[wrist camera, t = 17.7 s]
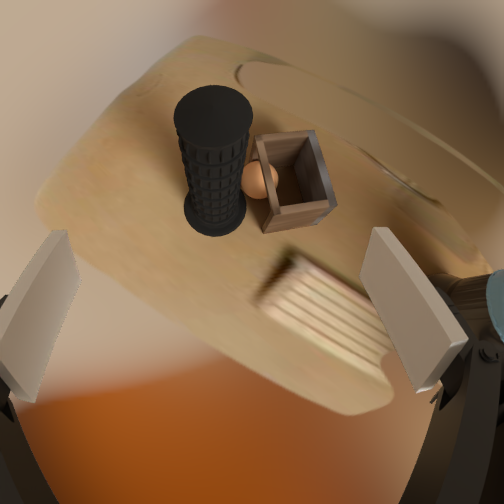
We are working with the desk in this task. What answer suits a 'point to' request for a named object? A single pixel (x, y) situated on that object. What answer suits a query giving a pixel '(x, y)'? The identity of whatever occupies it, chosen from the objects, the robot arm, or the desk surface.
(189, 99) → the handle grip
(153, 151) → the desk surface
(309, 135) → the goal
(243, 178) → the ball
